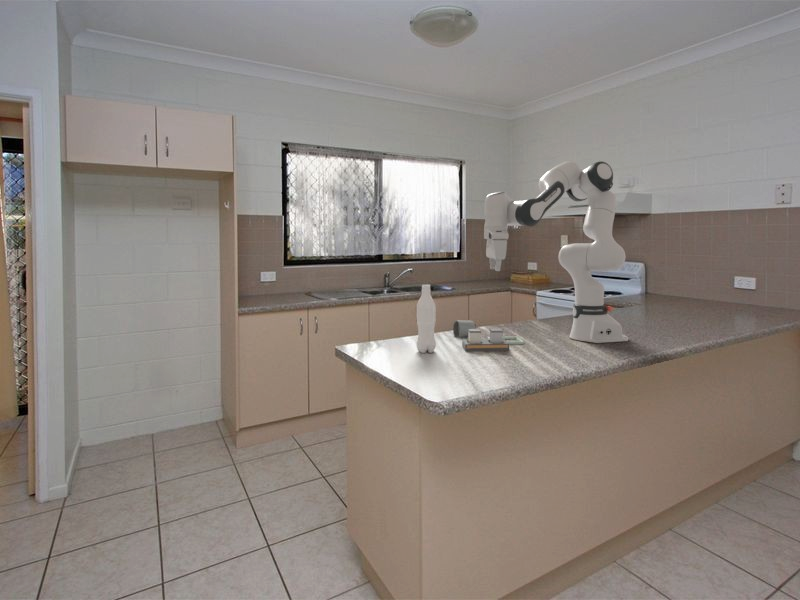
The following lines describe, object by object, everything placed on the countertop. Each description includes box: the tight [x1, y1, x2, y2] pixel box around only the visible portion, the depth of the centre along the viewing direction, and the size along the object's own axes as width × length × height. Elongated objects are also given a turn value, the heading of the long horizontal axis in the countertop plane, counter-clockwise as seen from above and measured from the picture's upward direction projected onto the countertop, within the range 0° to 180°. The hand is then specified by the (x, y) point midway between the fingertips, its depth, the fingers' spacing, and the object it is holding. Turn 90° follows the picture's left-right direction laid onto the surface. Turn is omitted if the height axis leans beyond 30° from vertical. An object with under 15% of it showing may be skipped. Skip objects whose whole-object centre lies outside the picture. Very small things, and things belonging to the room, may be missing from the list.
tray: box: [487, 335, 525, 345], centre depth 195 cm, size 12×10×2 cm
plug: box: [467, 328, 482, 343], centre depth 183 cm, size 4×4×7 cm
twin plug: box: [489, 328, 504, 343], centre depth 183 cm, size 4×4×7 cm
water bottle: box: [415, 284, 437, 354], centre depth 182 cm, size 7×7×25 cm
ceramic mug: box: [452, 319, 478, 338], centre depth 208 cm, size 11×8×8 cm
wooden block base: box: [461, 338, 510, 352], centre depth 183 cm, size 16×8×4 cm, turn 91°
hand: (495, 270), depth 193 cm, fingers open, 8 cm apart
